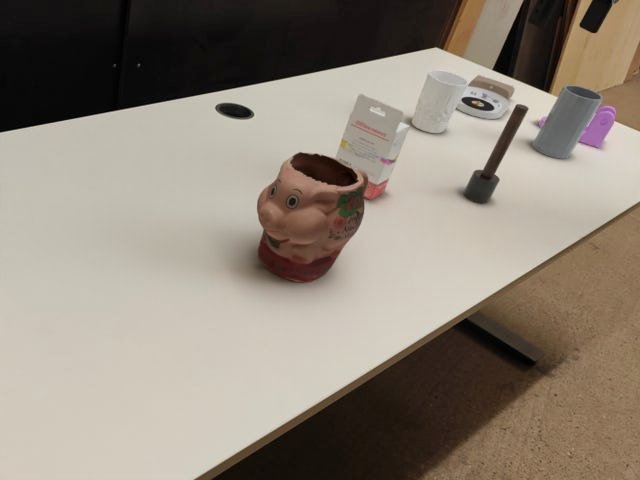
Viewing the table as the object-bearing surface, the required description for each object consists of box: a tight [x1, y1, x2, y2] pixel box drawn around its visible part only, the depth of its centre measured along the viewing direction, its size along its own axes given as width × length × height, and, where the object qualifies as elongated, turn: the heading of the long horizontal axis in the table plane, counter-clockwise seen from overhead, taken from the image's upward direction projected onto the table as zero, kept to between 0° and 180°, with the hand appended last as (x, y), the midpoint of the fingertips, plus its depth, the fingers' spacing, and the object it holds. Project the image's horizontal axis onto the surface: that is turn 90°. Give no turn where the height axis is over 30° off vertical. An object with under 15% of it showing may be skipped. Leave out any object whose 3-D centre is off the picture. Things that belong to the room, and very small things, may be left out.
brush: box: [462, 103, 529, 204], centre depth 111 cm, size 4×4×16 cm
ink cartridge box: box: [335, 93, 411, 201], centre depth 108 cm, size 9×5×15 cm, turn 47°
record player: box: [456, 74, 516, 120], centre depth 152 cm, size 12×3×20 cm
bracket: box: [538, 105, 617, 149], centre depth 145 cm, size 13×6×7 cm, turn 59°
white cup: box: [411, 69, 469, 134], centre depth 135 cm, size 8×8×10 cm
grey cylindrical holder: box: [532, 84, 604, 160], centre depth 134 cm, size 7×7×12 cm
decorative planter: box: [256, 151, 368, 283], centre depth 89 cm, size 20×12×14 cm, turn 135°
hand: (561, 27), depth 98 cm, fingers open, 9 cm apart
